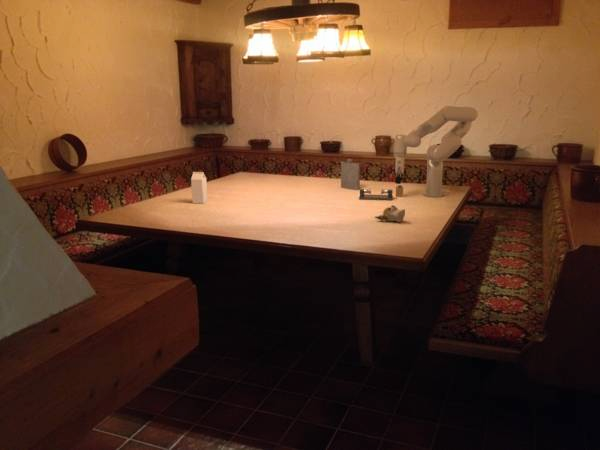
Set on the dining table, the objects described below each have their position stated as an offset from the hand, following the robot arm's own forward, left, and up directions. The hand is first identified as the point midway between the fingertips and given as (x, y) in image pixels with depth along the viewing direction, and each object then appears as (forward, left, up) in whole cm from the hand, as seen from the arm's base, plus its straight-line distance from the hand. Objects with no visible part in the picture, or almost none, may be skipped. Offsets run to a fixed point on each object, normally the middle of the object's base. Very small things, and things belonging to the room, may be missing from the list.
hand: (398, 182), depth 331 cm
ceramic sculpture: (+1, +62, -9) cm, 63 cm away
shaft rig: (+13, +9, -9) cm, 18 cm away
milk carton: (+119, +33, -9) cm, 124 cm away
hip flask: (+33, -21, -9) cm, 40 cm away
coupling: (-1, 0, -9) cm, 9 cm away
